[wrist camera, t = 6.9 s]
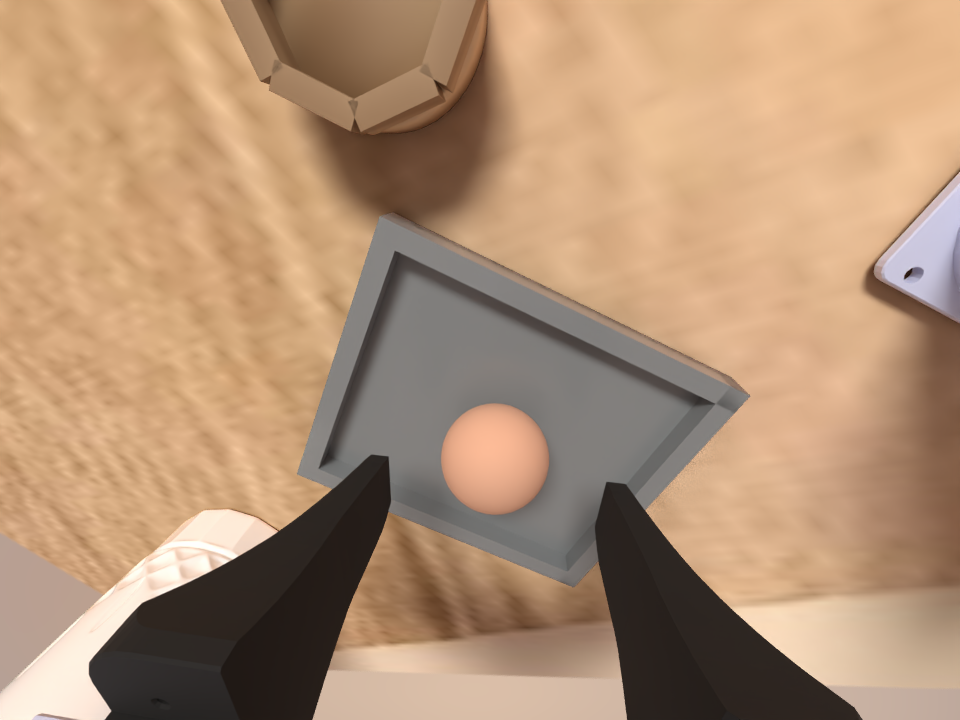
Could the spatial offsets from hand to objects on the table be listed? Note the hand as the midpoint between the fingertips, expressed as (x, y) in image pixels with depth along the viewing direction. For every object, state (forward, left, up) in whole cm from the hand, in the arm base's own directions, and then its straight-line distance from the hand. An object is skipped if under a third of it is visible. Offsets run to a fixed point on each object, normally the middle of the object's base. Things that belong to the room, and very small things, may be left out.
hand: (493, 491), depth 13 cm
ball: (0, 0, -4) cm, 4 cm away
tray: (0, 0, -4) cm, 4 cm away
